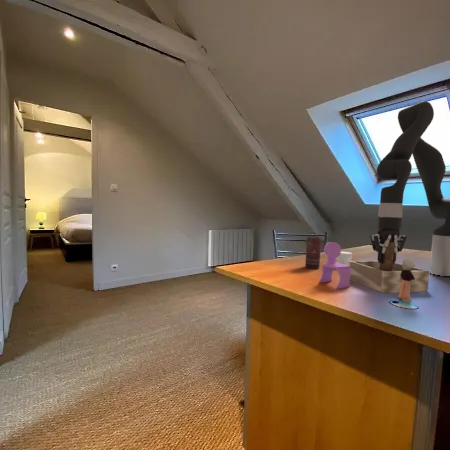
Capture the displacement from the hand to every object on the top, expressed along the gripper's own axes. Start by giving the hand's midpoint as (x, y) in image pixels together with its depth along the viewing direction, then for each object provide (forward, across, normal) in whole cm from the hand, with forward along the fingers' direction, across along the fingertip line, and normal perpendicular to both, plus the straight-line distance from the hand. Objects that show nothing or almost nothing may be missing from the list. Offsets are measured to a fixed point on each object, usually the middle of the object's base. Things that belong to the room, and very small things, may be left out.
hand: (386, 262), depth 103 cm
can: (+8, +12, -29) cm, 33 cm away
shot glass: (+8, -4, -29) cm, 30 cm away
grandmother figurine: (+8, +7, +16) cm, 20 cm away
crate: (+8, 0, 0) cm, 8 cm away
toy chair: (+8, +19, -2) cm, 21 cm away
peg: (+4, 0, 0) cm, 4 cm away
